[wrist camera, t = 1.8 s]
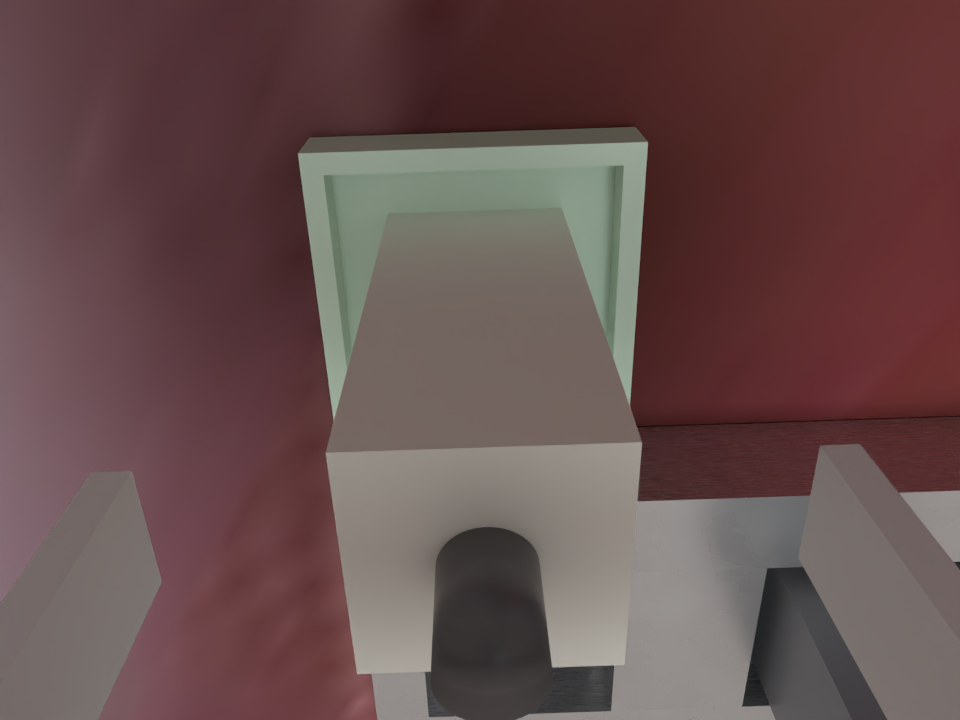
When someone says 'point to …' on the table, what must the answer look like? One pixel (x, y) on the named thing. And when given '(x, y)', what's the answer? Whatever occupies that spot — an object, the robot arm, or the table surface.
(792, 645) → the twin plug
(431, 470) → the plug
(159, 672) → the table surface
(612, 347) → the tray
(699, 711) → the metal socket frame
